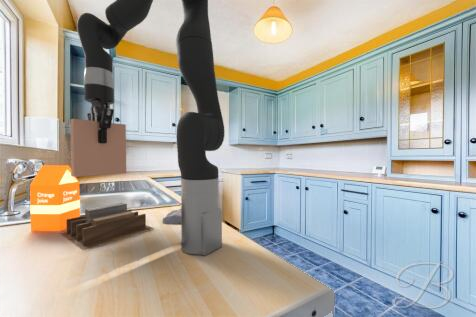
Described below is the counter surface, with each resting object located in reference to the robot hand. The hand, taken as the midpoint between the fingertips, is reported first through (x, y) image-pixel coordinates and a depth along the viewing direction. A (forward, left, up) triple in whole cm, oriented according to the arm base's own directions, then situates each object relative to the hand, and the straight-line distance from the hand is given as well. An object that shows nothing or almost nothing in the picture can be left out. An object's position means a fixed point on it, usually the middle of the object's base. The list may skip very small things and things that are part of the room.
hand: (100, 143), depth 63 cm
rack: (-5, 0, -27) cm, 27 cm away
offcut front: (-8, 0, -26) cm, 27 cm away
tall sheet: (0, 0, -10) cm, 10 cm away
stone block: (-12, -20, -27) cm, 36 cm away
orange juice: (+12, +8, -27) cm, 31 cm away
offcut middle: (-4, 0, -26) cm, 26 cm away
